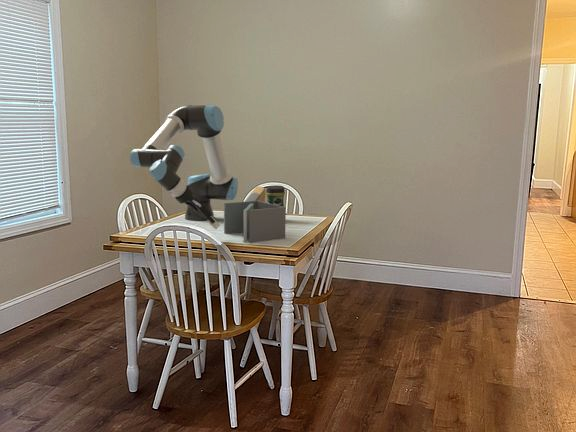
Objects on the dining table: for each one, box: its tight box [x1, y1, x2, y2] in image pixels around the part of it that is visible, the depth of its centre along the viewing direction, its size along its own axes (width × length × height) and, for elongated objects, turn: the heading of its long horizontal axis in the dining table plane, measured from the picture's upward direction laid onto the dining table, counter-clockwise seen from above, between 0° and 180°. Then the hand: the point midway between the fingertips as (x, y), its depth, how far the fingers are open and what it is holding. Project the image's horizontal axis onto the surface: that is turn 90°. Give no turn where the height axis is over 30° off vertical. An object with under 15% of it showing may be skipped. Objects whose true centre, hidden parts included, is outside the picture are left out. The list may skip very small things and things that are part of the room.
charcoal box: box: [223, 201, 287, 244], centre depth 248 cm, size 18×24×14 cm
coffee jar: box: [265, 184, 286, 207], centre depth 287 cm, size 10×8×19 cm
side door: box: [243, 204, 254, 243], centre depth 244 cm, size 1×21×14 cm, turn 176°
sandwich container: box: [244, 185, 266, 202], centre depth 308 cm, size 9×15×15 cm, turn 130°
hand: (217, 226), depth 239 cm, fingers closed
